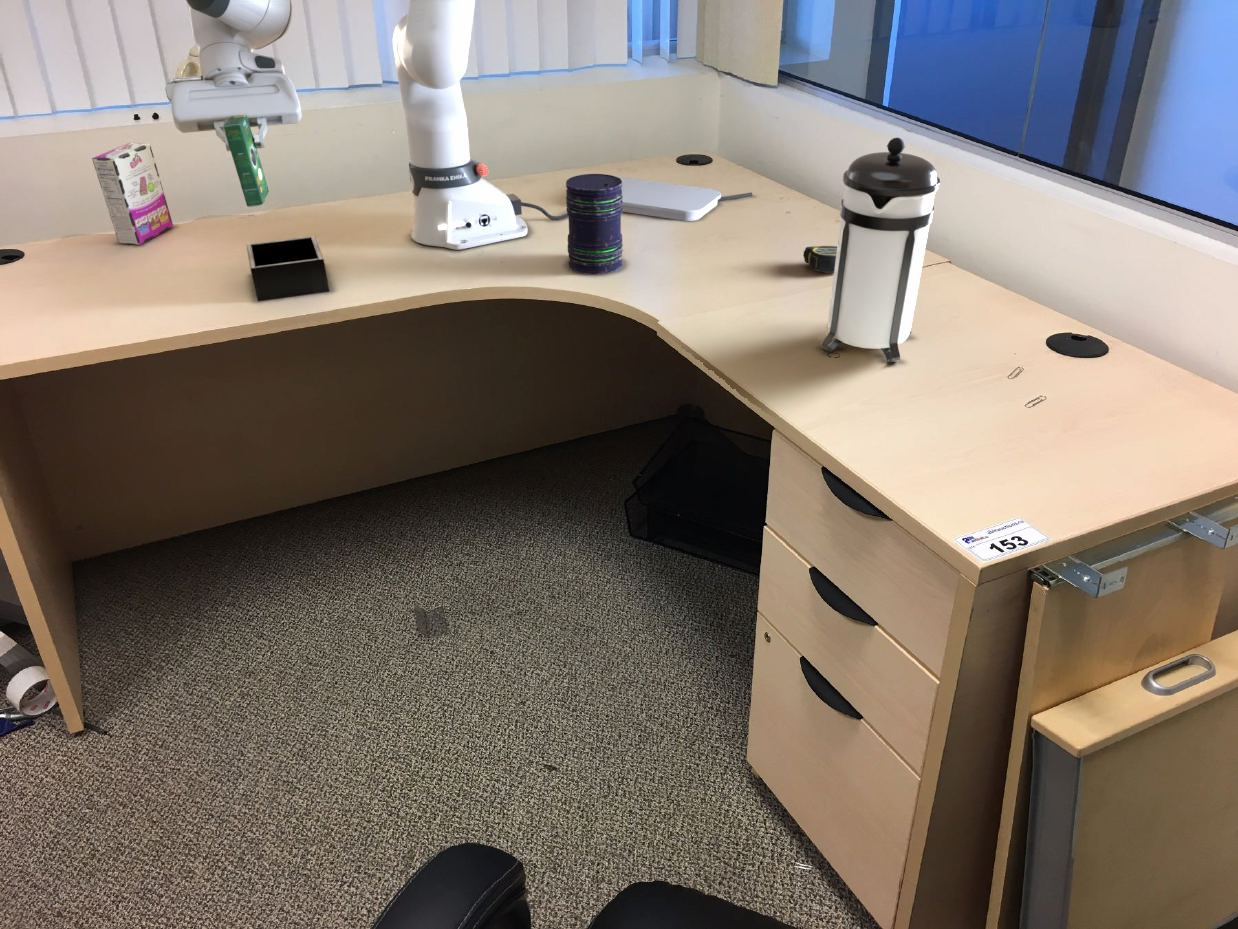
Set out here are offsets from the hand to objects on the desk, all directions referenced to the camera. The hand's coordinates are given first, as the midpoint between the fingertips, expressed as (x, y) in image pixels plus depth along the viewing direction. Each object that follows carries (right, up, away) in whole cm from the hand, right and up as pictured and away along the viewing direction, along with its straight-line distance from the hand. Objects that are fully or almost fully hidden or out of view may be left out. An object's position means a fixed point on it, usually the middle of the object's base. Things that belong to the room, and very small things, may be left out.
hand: (245, 147), depth 156 cm
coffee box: (+1, -8, +3) cm, 8 cm away
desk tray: (+5, -21, +6) cm, 23 cm away
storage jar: (+58, -17, +14) cm, 62 cm away
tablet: (+69, +3, +44) cm, 82 cm away
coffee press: (+99, -34, -13) cm, 106 cm away
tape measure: (+98, -18, +12) cm, 101 cm away
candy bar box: (-31, -8, +28) cm, 42 cm away
